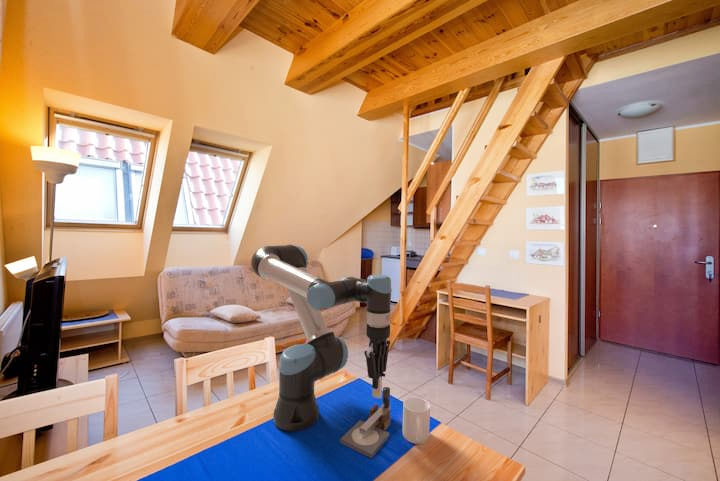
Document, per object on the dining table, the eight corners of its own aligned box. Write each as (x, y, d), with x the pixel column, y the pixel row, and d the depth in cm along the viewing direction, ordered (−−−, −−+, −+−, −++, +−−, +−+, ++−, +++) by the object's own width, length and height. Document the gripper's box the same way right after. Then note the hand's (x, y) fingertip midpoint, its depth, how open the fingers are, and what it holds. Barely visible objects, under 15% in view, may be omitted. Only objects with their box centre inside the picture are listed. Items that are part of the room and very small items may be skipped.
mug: (433, 455, 91) (434, 420, 90) (404, 453, 91) (405, 419, 91) (426, 428, 103) (427, 397, 102) (401, 426, 103) (402, 396, 103)
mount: (368, 424, 104) (369, 409, 104) (374, 417, 107) (375, 403, 107) (384, 430, 101) (385, 415, 100) (390, 424, 104) (390, 409, 104)
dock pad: (340, 442, 95) (340, 438, 95) (359, 423, 104) (359, 419, 104) (371, 458, 89) (371, 453, 89) (389, 436, 98) (389, 432, 98)
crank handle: (359, 433, 96) (360, 408, 95) (384, 407, 109) (385, 386, 109) (366, 436, 94) (366, 411, 94) (390, 410, 108) (391, 388, 107)
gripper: (378, 332, 92) (377, 410, 93) (398, 321, 103) (396, 391, 104) (357, 327, 96) (355, 402, 97) (378, 317, 107) (376, 384, 108)
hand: (376, 396), depth 101 cm, fingers closed
